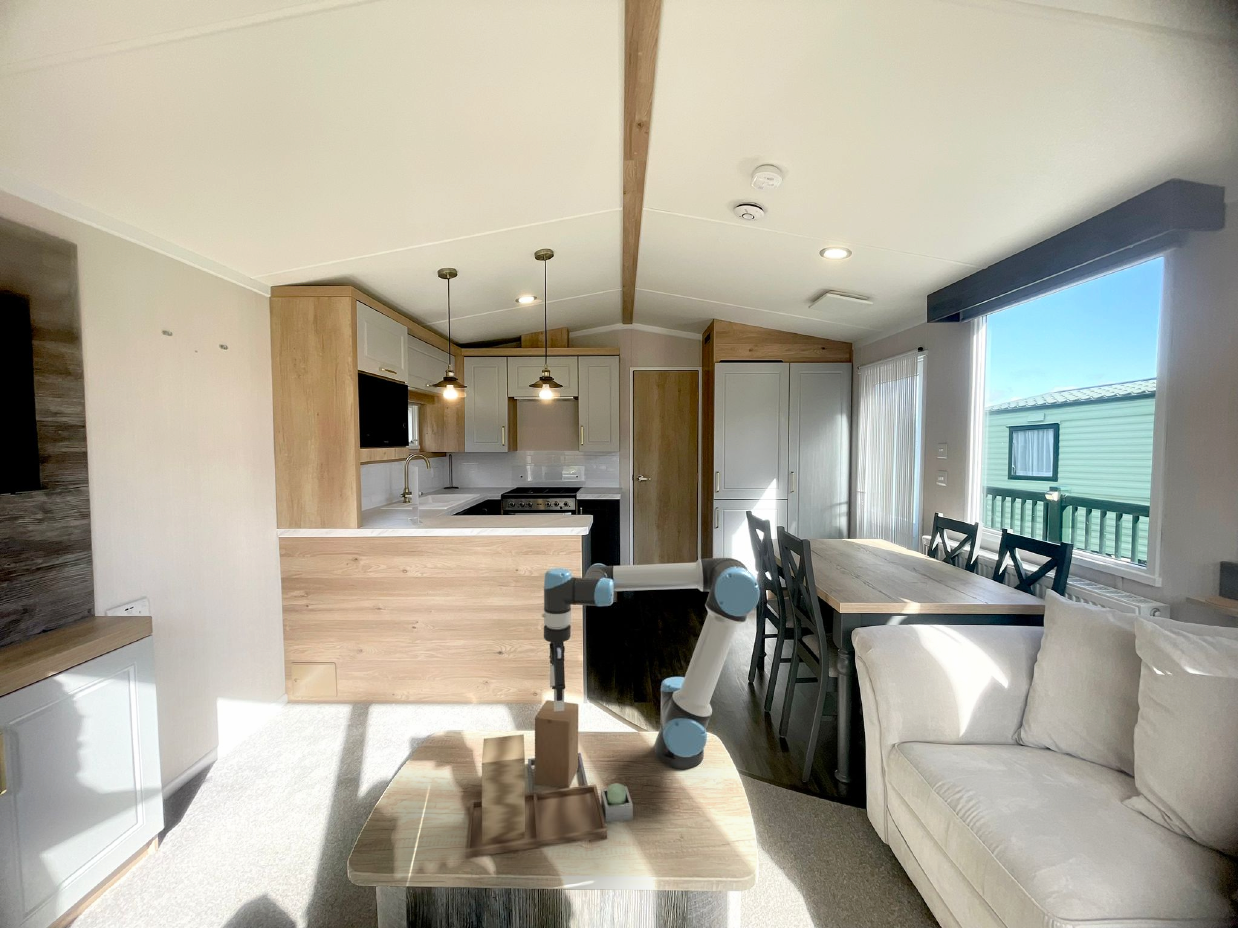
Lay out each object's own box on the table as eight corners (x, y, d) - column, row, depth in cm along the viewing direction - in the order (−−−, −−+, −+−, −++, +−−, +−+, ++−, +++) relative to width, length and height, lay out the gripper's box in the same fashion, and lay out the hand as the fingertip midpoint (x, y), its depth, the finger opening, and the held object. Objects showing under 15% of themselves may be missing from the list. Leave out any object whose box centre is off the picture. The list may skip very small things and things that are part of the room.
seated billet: (523, 808, 136) (523, 734, 135) (524, 837, 126) (524, 757, 125) (484, 813, 134) (483, 738, 133) (482, 843, 124) (481, 762, 123)
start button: (623, 794, 139) (623, 782, 139) (627, 807, 134) (627, 794, 134) (605, 797, 138) (605, 784, 138) (609, 809, 133) (609, 796, 133)
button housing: (626, 800, 140) (626, 786, 140) (632, 819, 134) (632, 804, 133) (600, 803, 139) (600, 789, 139) (605, 823, 132) (605, 807, 132)
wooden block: (568, 791, 144) (568, 721, 142) (534, 786, 146) (534, 717, 144) (578, 768, 153) (578, 702, 152) (546, 764, 155) (546, 699, 154)
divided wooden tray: (595, 791, 144) (595, 784, 144) (607, 838, 127) (607, 830, 127) (471, 808, 137) (470, 800, 137) (465, 860, 120) (465, 851, 120)
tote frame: (580, 757, 159) (580, 752, 159) (588, 792, 143) (588, 787, 143) (527, 763, 156) (527, 758, 155) (530, 800, 140) (530, 794, 140)
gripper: (541, 610, 158) (540, 678, 159) (547, 642, 134) (546, 722, 135) (565, 609, 160) (565, 676, 161) (576, 640, 135) (575, 720, 137)
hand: (556, 697), depth 148 cm, fingers open, 13 cm apart
